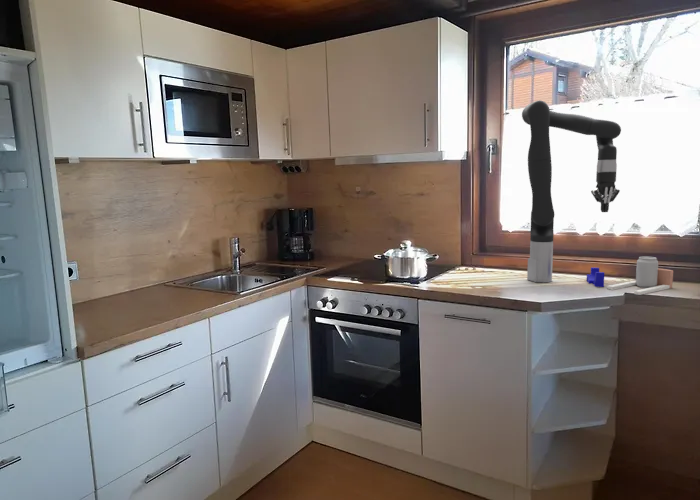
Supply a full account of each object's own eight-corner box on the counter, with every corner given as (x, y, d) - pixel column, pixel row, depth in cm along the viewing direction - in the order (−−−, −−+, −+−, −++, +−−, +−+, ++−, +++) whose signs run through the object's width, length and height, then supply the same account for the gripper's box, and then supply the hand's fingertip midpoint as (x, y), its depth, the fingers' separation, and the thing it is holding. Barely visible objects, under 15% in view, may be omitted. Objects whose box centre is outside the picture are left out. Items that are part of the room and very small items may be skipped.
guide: (639, 295, 195) (640, 276, 194) (607, 288, 206) (608, 271, 205) (672, 287, 206) (673, 270, 205) (640, 282, 217) (641, 265, 216)
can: (641, 288, 205) (643, 258, 204) (631, 284, 213) (633, 255, 211) (660, 288, 205) (662, 258, 203) (650, 284, 212) (652, 255, 211)
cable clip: (586, 281, 222) (587, 267, 221) (597, 281, 221) (598, 267, 220) (591, 287, 211) (592, 272, 210) (603, 287, 210) (604, 272, 209)
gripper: (613, 170, 224) (611, 211, 227) (586, 171, 221) (585, 212, 223) (626, 170, 217) (624, 212, 219) (599, 171, 214) (597, 213, 216)
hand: (604, 212), depth 221 cm, fingers closed
